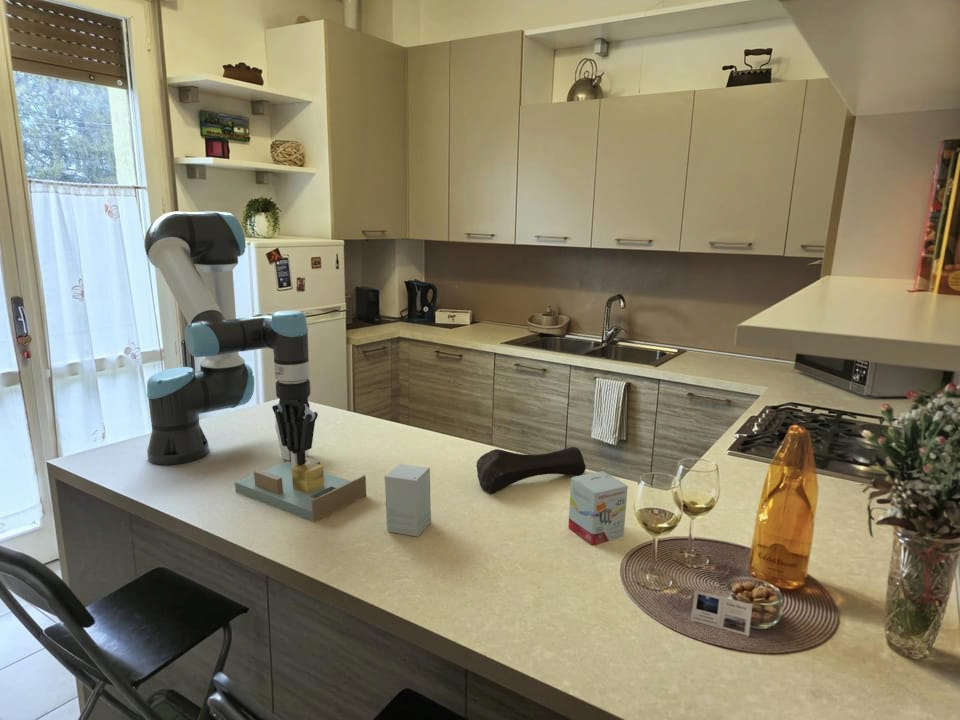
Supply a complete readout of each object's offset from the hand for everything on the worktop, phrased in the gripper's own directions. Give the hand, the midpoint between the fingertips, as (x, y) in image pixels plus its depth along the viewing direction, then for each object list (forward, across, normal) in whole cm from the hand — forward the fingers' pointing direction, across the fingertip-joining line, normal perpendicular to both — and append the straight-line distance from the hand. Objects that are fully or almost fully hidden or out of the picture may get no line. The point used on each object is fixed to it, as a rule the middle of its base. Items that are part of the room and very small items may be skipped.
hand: (298, 476), depth 148 cm
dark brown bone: (+5, +41, +37) cm, 56 cm away
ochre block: (+2, +3, 0) cm, 4 cm away
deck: (+4, 0, 0) cm, 4 cm away
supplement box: (+4, +32, +2) cm, 32 cm away
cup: (+5, -19, +15) cm, 25 cm away
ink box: (+4, +66, +22) cm, 70 cm away
